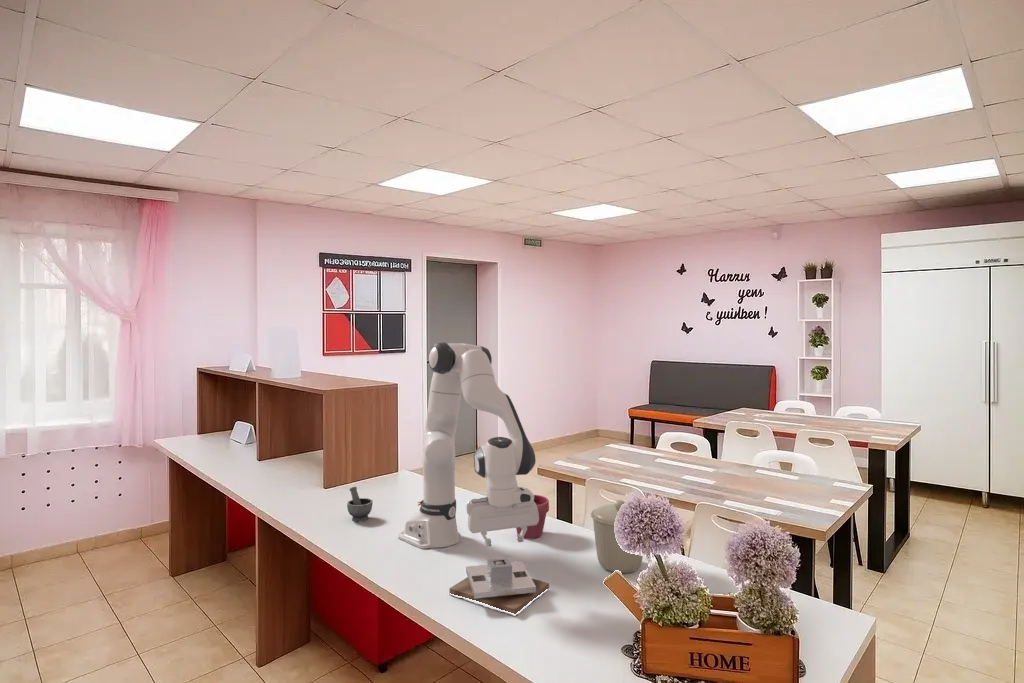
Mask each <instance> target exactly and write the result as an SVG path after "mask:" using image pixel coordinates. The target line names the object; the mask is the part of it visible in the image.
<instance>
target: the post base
mask: <svg viewBox="0 0 1024 683" xmlns="http://www.w3.org/2000/svg"><path fill="white" fill-rule="evenodd" d="M495 565H504V562H501V561H498V562H496V563H495ZM522 577H525V576H522ZM515 578H517V577H515ZM531 579H532V580H533V582H534V584H535V586H536V592H534V593H524V594H514V595H505V596H495V597H485V598H476V599H474V596H473V592H472V589H471V586H470V583H469V579H468V576H467V577H465V578H464V579H462V580H460V581H459V582H457V583H455V584H454V585H452V586H451V587H449V594H450V593H451V594H454V595H458V596H462V597H465V598H469V599H472V600H476V601H479V602H482V603H485V604H488V605H490V606H493V607H496V608H499V609H501V610H505V611H508V612H511V613H514V614H516V613H517V612H518V611H520V610H521V609H522V608H523V607H524V606H526V605H527V604H528V603H529V602H530V601H532V600H533V599H534V598H536V597H537V596H538V595H540V594H541V593H542V592H544V591H545V590H546V589H548V588H549V589H550V583H549V582H546V581H543V580H539V579H536V578H532V577H531ZM480 581H484V580H480ZM473 582H476V581H473Z"/></svg>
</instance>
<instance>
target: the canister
mask: <svg viewBox="0 0 1024 683" xmlns="http://www.w3.org/2000/svg"><path fill="white" fill-rule="evenodd" d="M624 503H625V504H626V502H625V501H624V500H622V499H617V500H615V501H614V503H613V504H612V503H611V504H610V503H609V504H604V505H600V506H598V507H596V508H594V509H593V510H592V511H591V512H590V517H591V518H592V521H593V531H594V541H595V550H596V557H597V561H598V563H599V564H600V567H602V568H603V569H605V570H606V571H609V572H612V573H614V572H613V571H615V570H619V571H621V573H620V574H627V573H628V574H629V573H632V572H635V571H637V570H638V569H639V568H641V565H642V561H643V557H644V555H643V556H639V555H635V554H630V553H627V552H625V551H623V550H622V549H621V548H620V546H619V545H618V543H617V541H616V538H615V533H614V522H615V518H616V515H617V512H618V511H619V509H620V507H621V505H622V504H624Z"/></svg>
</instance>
